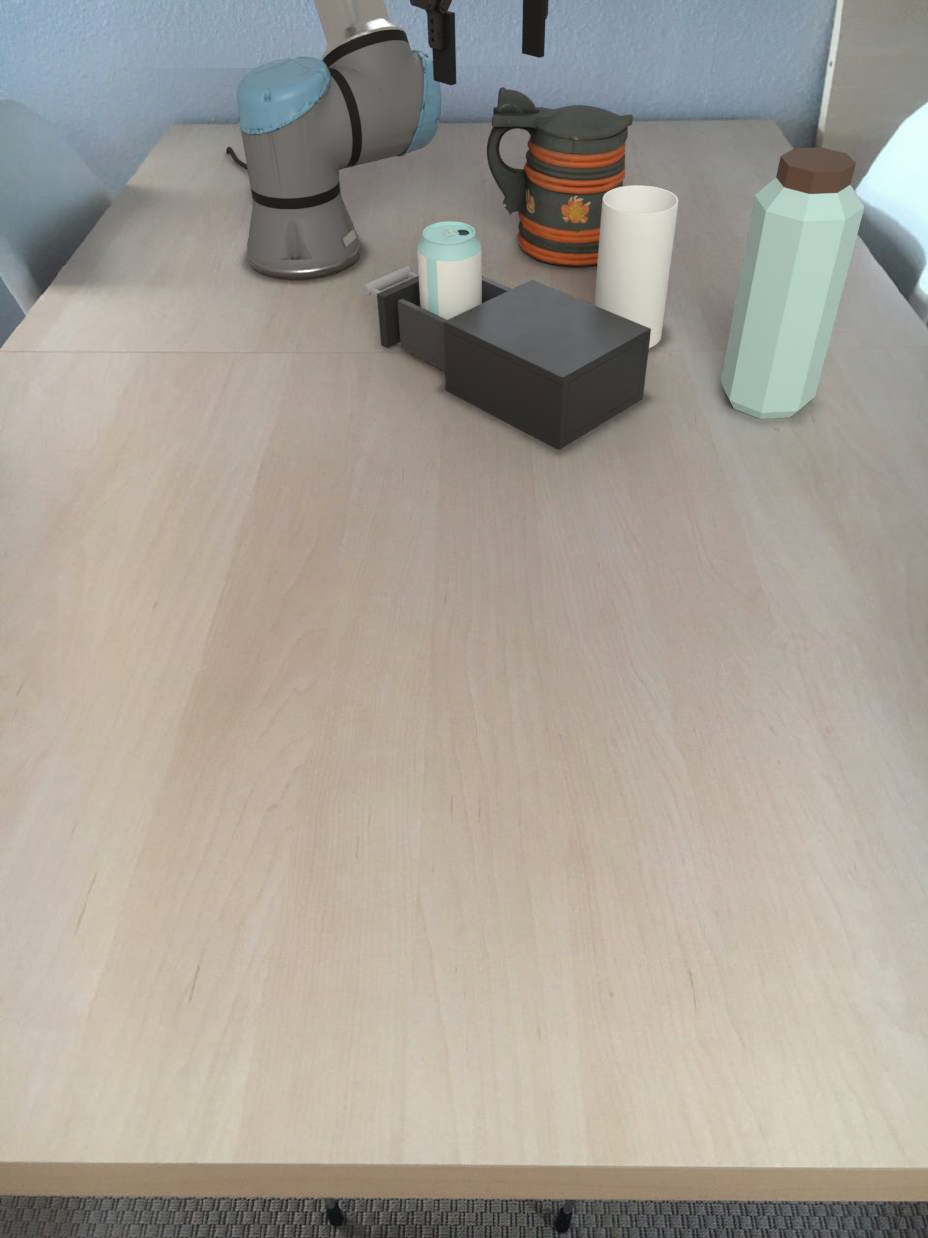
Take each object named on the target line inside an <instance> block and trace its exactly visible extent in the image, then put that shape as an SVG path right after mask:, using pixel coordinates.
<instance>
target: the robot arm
mask: <svg viewBox="0 0 928 1238" xmlns="http://www.w3.org/2000/svg"><path fill="white" fill-rule="evenodd" d="M312 1H313V4H314V7H315V10H316V13H317V16H318V19H319V22H320V24H321V28H322V31H323V34H324V37H325V40H326V47H325V50H324V52H323V54H322V56H321V58H317V57H314V56H298V57H295V58H291V57H287V58H286V57H285V58H281V59H276V60H273V61H270V62H267V63H265V64H262V65H259V66H257V67H256V68H254V69H252V70H250V71H249V72H248V73H246V74H245V75H244V76H243V78H242V79H241V80H240V81H239V84H238V85H237V89H236V102H237V103H236V104H237V113H238V117H237V124H238V127H239V129H240V134H241V139H242V145H243V150H244V156H245V161H246V163H245V162H244V161H242V160H241V159H239V157H238V156H237V154H236V153H235V151H234V149H233V147H231V146H227V147H226V149H225V153H226V154H229V155H230V156H231V158H232V159H233V161H234V162H235V163H236V164H238V165H239V166H240V167H242V168H243V169H245V170H247V174H248V180H249V186H250V192H251V196H252V197H251V198H252V207H251V208H252V209H251V216H250V223H249V231H248V238H247V242H246V251H247V257H248V263H249V265H250V266H251V268H252V269H253V270H255V271H256V272H258V273H260V274H262V275H265V276H268V277H271V278H276V279H282V280H309V279H317V278H322V277H327V276H331V275H334V274H336V273H340V272H341V271H344V270H346V269H348V268H349V267H351V266H352V265H354V264H355V263H356V262H357V260H358V259H359V257H360V255H361V246H360V239H359V235H358V232H357V230H356V228H355V225H354V223H353V220H352V218H351V216H350V214H349V211H348V209H347V207H346V204H345V202H344V199H343V197H342V192H341V184H340V183H341V182H340V170H344V169H347V168H352V167H356V166H357V167H358V166H361V165H364V164H369V163H373V162H377V161H381V160H386V159H390V158H394V157H399V158H401V157H404V156H405V155H407V154H409V153H412V152H416V151H419V150H421V149H424V148H426V147H427V146H428V145H429V144H430V143H431V142H432V141H433V140H434V137H435V136H436V133H437V130H438V127H439V124H440V119H441V114H442V90H441V84H443V85H444V84H445V85H448V86H454V85H457V48H456V44H457V43H456V12H454V11H449V9H450V6H451V4H452V3H453V0H409V3H410V5H411V6H412V7H415V8H419V9H420V10H424V11H425V13H426V20H427V24H426V25H427V43H428V46H429V48H430V49H431V50H432V51H431V52H432V58H431V57H430V56H429V55H428V54H427V52H425V51H423V50H419V49H416V48H415V49H411V45H410V42H409V38H408V35H407V32H406V30H405V29H404V28H403V27H401V26H399V25H397V24H396V23H394V22H392V21H391V20H390V17H389V13H388V9H387V7H386V4H385V0H312ZM549 2H550V0H522V21H521V22H522V23H521V24H522V25H521V26H522V27H521V29H522V30H521V32H522V33H521V54H522V55H527V56H531V57H535V58H540V59H541V58H544V57H545V47H546V45H545V43H546V20H547V19H548V15H549Z"/></svg>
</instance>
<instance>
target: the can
mask: <svg viewBox="0 0 928 1238" xmlns="http://www.w3.org/2000/svg"><path fill="white" fill-rule="evenodd" d="M421 233H422V237H421V239H420V240H419V242H418V244H417V248H416V252H417V268H418V271H417V273H418V275H419V291H420V307H421V308H423V309H425V310H428V311H430V312H432V313H434V314H436V315H438V316H440V317H442V318H445V319H447V320H448V319H450V318H453V317H455V316H457V315H459V314H461V313H463V312H465V311H467V310H469V309H471V308H474V307H476V306H478V305H480V304H482V276H483V273H482V272H483V264H482V263H483V261H482V258H483V257H482V256H483V255H482V254H483V253H482V252H483V251H482V250H483V248H482V246H483V245H482V243H481V241H480V239H479V238H478V237H477V235H476V229H475V228H474V227H473V226H472V225H470V224H468V223H466V222H462V221H453V220H449V221H447V220H446V221H439V222H435V223H432V224H430V225H427V226H426V227H425V228H424V229H423V230H422V232H421Z"/></svg>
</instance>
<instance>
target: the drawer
mask: <svg viewBox="0 0 928 1238" xmlns="http://www.w3.org/2000/svg"><path fill="white" fill-rule="evenodd" d="M402 281H403V282H402ZM398 283H399V284H398ZM387 288H388V289H387ZM384 289H385V290H384ZM511 289H512V288H510V287H509V286H506V285H504V284H502V283H499V282H497V281H495V280H493V279H490V278H488V277H485V276H483V275H482V303H484V302H486V301H488V300H490V299H493V298H495V297H497V296H499V295H501V294H503V293H505V292H507V291H509V290H511ZM382 290H383V291H382ZM361 291H362V293H363V295H364V296H365V297H369V296H371V295H372V296H374V297H376V300H377V313H378V314H377V315H378V324H379V336H380V346H381V347H384V348H385V349H387V350H388V349H390V348H392V347H394V346H397V345H398V344H399V345H400V349H402V350H403V351H406V352H408V353H410V354H411V355H414V356H415V357H417V358H420V359H421V360H423V361H425V362H427V363H430V364H431V365H433V366H435V367H437V368H439V369H441V370H443V371H445V345H444V321H446V320H447V319H445V318H442V317H440V316H438V315H436V314H434V313H432V312H430V311H428V310H425V309H423V308H421V307H420V291H419V273H416V272H413V270H412V268H411V266H409V265H405V266H403V267H401V268H398V269H396V270H394V271H391V272H388V273H386V274H384V275H381V276H379V277H377V278H374V279H372V280H369V281H368V282H366V283H362V285H361Z"/></svg>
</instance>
